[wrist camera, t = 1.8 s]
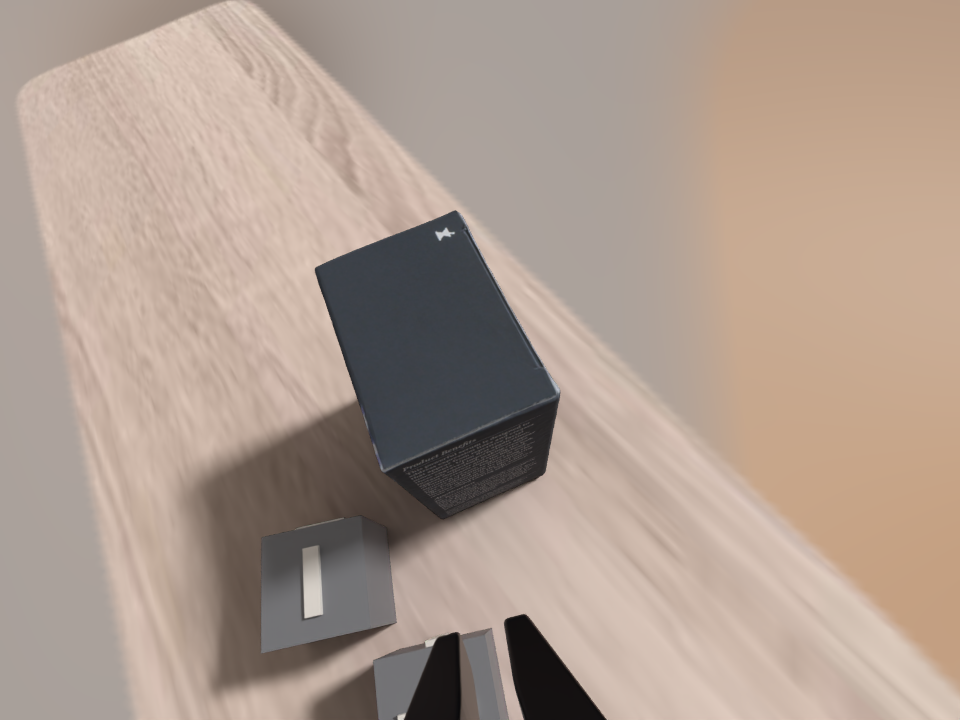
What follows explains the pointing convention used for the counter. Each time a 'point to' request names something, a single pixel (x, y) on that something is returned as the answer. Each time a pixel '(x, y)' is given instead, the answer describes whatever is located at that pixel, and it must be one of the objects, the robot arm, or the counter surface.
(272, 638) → the marked cube seven
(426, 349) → the box
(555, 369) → the counter surface
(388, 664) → the marked cube one
